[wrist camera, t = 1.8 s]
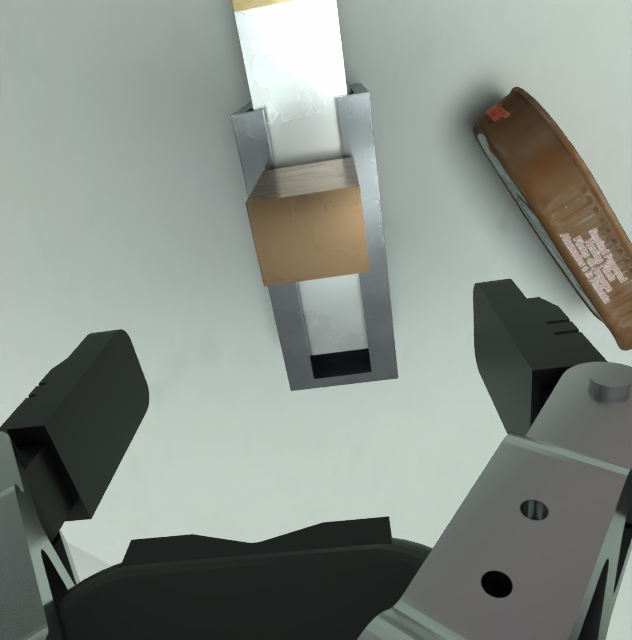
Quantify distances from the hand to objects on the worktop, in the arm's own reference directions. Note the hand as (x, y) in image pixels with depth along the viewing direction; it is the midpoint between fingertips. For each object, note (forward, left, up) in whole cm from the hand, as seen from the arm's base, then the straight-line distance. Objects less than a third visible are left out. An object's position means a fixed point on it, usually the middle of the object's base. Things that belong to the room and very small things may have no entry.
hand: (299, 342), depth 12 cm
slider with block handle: (0, 0, -19) cm, 19 cm away
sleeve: (0, -3, -20) cm, 20 cm away
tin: (+12, -4, -20) cm, 24 cm away
